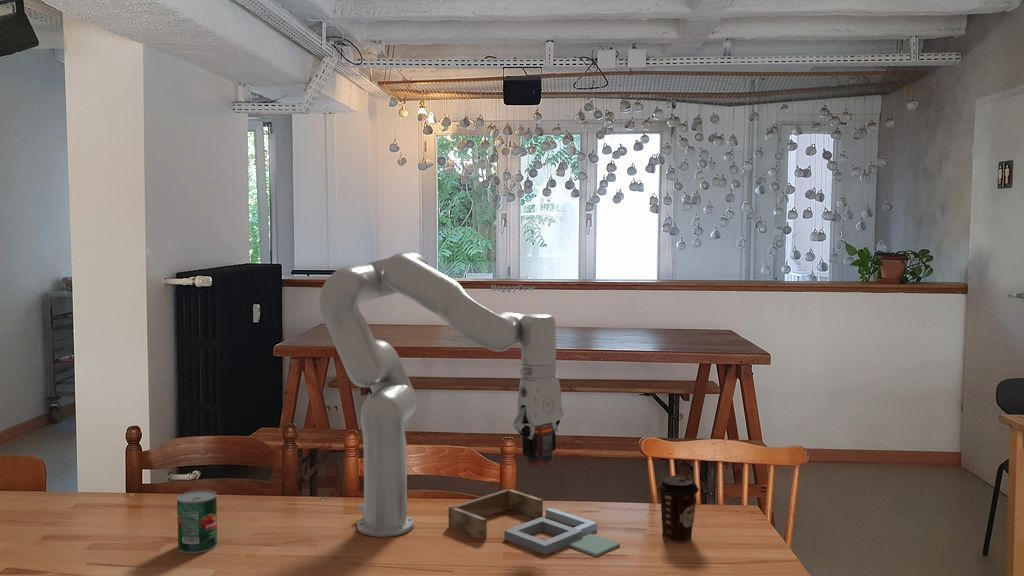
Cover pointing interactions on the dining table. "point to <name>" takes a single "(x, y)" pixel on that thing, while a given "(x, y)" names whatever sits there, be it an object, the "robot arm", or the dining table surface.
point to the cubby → (491, 510)
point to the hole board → (524, 538)
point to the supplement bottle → (542, 446)
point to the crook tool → (572, 520)
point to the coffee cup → (677, 507)
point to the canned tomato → (197, 521)
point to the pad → (593, 544)
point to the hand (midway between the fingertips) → (539, 452)
